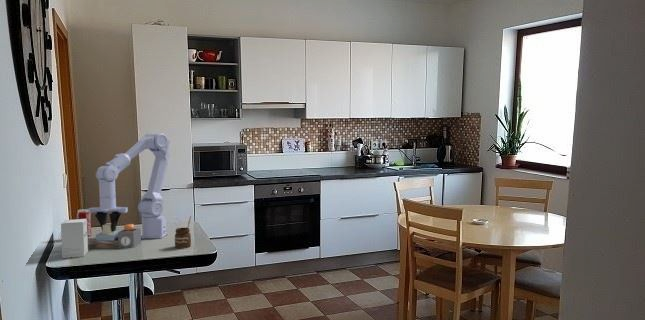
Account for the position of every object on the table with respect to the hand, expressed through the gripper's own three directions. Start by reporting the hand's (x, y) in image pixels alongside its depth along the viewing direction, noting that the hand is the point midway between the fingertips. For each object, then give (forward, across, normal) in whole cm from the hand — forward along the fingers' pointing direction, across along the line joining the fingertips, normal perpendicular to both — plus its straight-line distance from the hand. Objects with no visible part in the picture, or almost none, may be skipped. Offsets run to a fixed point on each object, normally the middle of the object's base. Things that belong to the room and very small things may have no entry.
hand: (109, 231), depth 181 cm
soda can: (+6, -17, +14) cm, 23 cm away
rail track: (+6, -3, 0) cm, 7 cm away
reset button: (0, +8, 0) cm, 8 cm away
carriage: (+3, 0, 0) cm, 3 cm away
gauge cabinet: (+6, +8, 0) cm, 10 cm away
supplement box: (+6, -6, -14) cm, 16 cm away
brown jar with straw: (+6, +30, -3) cm, 31 cm away
